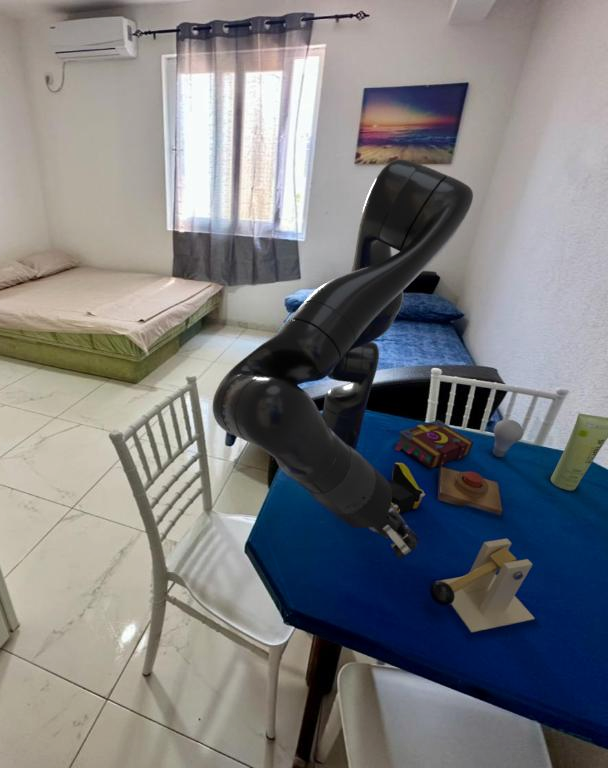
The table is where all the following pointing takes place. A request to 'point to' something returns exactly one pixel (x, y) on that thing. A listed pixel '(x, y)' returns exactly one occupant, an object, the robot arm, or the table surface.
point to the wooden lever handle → (468, 578)
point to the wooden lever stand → (492, 592)
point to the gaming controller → (404, 489)
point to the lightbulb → (506, 436)
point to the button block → (468, 492)
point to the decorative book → (434, 443)
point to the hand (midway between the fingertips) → (410, 539)
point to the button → (473, 479)
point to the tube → (580, 450)
